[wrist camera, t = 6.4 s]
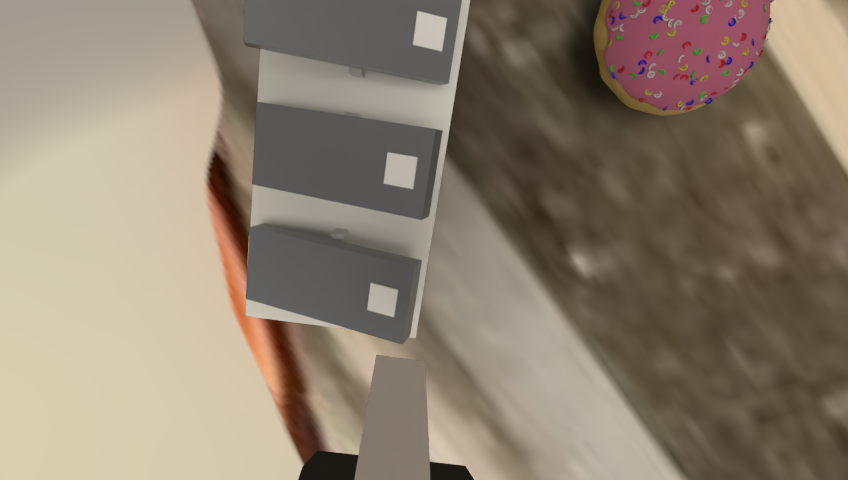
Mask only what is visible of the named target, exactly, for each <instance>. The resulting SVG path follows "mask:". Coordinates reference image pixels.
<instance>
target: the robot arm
mask: <svg viewBox="0 0 848 480" xmlns="http://www.w3.org/2000/svg"><path fill="white" fill-rule="evenodd" d="M298 480H474V479H473V477H472V476H471V474H470V473H469V471H468V470H467V468H466V466H461V465H452V464H444V463H435V462H430V461H429V439H428V417H427V394H426V372H425V361H421V360H413V359H405V358H397V357H389V356H382V355H376V360H375V366H374V372H373V377H372V383H371V388H370V394H369V400H368V405H367V411H366V416H365V422H364V428H363V433H362V439H361V445H360V450H359V455H352V454H343V453H334V452H325V451H317V452H316V453H315V454H314V455H313V456H312V457H311V458H310V459H309V460H308V461H307V462H306V463H305V465H304V466H303V467H302V470H301V473H300V476H299V479H298Z"/></svg>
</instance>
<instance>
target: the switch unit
mask: <svg viewBox="0 0 848 480" xmlns="http://www.w3.org/2000/svg"><path fill="white" fill-rule="evenodd" d="M469 5H470V0H462V3H461V9H460V15H459V22H458V28H457V34H456V41H455V47H454V53H453V60H452V66H451V72H450V79H449V84H444V85H437V84H432V83H427V82H422V81H417V80H412V79H408V78H403V77H398V76H393V75H388V74H383V73H378V72H373V71H368V70H363V69H358V68H353V67H348V66H343V65H338V64H333V63H328V62H323V61H318V60H313V59H308V58H303V57H298V56H293V55H288V54H283V53H278V52H273V51H268V50H263V49H260V64H259V82H258V101H257V102H262V103H269V104H276V105H282V106H289V107H295V108H302V109H308V110H315V111H321V112H328V113H335V114H341V115H348V116H354V117H361V118H367V119H374V120H380V121H387V122H394V123H400V124H407V125H413V126H420V127H426V128H433V129H438V130H443V132H442V138H441V144H440V151H439V157H438V163H437V170H436V176H435V182H434V188H433V195H432V201H431V207H430V214H429V217H427V218H425V219H423V220H419V219H414V218H410V217H405V216H400V215H395V214H391V213H386V212H381V211H376V210H372V209H367V208H362V207H357V206H353V205H348V204H343V203H338V202H334V201H329V200H324V199H319V198H315V197H310V196H305V195H300V194H295V193H291V192H286V191H281V190H276V189H272V188H267V187H262V186H257V185H253V192H252V210H251V226H255V225H260V224H264V223H266V224H270V225H274V226H279V227H283V228H287V229H291V230H296V231H300V232H304V233H308V234H313V235H317V236H321V237H325V238H330V239H334V240H338V241H342V242H347V243H351V244H355V245H359V246H364V247H368V248H372V249H376V250H381V251H385V252H389V253H393V254H398V255H402V256H406V257H410V258H415V259H419V260H422V264H421V271H420V277H419V283H418V289H417V296H416V302H415V308H414V315H413V321H412V327H411V334H410V336H409V337H411V338H416V332H417V326H418V320H419V314H420V308H421V301H422V295H423V289H424V283H425V277H426V271H427V264H428V258H429V252H430V246H431V240H432V234H433V227H434V221H435V215H436V209H437V203H438V197H439V190H440V184H441V178H442V172H443V166H444V159H445V153H446V147H447V141H448V135H449V129H450V122H451V116H452V110H453V104H454V98H455V92H456V85H457V79H458V73H459V67H460V61H461V55H462V48H463V42H464V36H465V30H466V24H467V18H468V11H469ZM248 252H249V244H248ZM247 265H248V263H247ZM246 316H250V317H258V318H265V319H273V320H281V321H288V322H296V323H304V324H311V325H319V326H327V327H334V328H342V329H348V328H344V327H341V326H337V325H334V324H331V323H327V322H324V321H320V320H317V319H313V318H310V317H307V316H303V315H300V314H296V313H293V312H289V311H286V310H283V309H279V308H276V307H272V306H269V305H265V304H262V303H258V302H255V301H252V300H248V299H247V302H246ZM350 330H351V329H350Z"/></svg>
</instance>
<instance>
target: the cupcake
mask: <svg viewBox="0 0 848 480" xmlns="http://www.w3.org/2000/svg"><path fill="white" fill-rule="evenodd" d="M773 1H774V0H771V1H770V0H602V1H601V5H600V9H599V12H598V15H597V18H596V21H595V25H594V31H593V38H594V45H595V51H596V56H597V59H598V63H599V70H600V75H601V78H602V80H603V81H604V82H605V84H606V85H607V86H608V87H609V88H610V89H611V90H612V91H613V92H614V93H615V95H616V96H617V97H618V98H619V99H620V100H621V101H622V103H624V104H625V105H626V106H627V107H629V108H632V109H635V110H639V111H643V112H646V113H650V114H653V115H659V116H668V115H675V114H681V113H685V112H689V111H692V110H695V109H697V108H700V107H702V106H704V105H705V104H709V103H711V102H712V100H714V99H716V98H718V97H720V96H722V95H723V94H725V93H726V92H728V91H729V90H730V89H732V88H733V87H734V86H735V85H736V84H737V83H738V82H739V81H740V80H741V79H742V78H743V77H744V76H745V75H746V74H747V72H748V71H749V70H750V69H751V68H752V67H753V66H754V65H755V63H756V62H757V61H758V59H759V57H760V56H761V54H762V52H763V50H762V48H763V45H764V44H765V43H766V42H767V41H768V39H767V40H766V41H765V42H764V40H765V39H766V35H767V34H768V32H769V30H770V24H771V23H772V21H771V18H770V3H771V2H773ZM769 18H770V19H769ZM768 27H769V28H768ZM767 29H768V30H767Z"/></svg>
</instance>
